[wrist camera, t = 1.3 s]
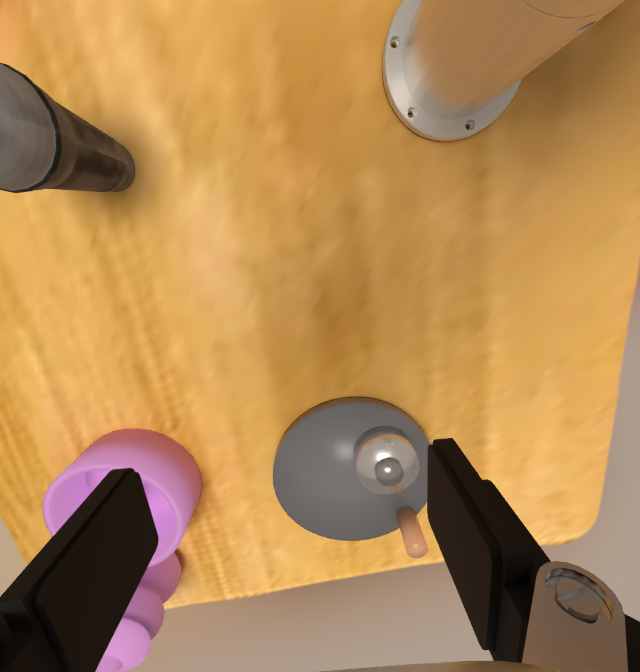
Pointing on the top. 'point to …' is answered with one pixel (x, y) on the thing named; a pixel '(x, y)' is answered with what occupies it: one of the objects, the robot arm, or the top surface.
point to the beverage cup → (53, 144)
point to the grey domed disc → (347, 474)
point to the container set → (168, 514)
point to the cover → (385, 460)
